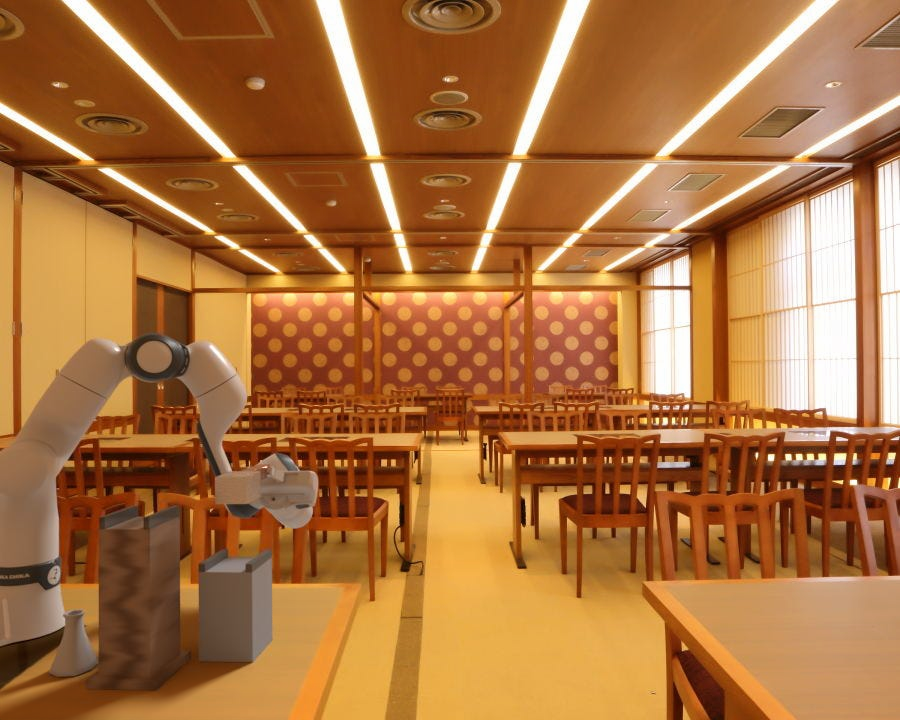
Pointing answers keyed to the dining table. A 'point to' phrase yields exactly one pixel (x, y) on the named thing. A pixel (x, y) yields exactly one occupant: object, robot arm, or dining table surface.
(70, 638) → the flask
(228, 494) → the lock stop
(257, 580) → the grey post
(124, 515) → the tall post
